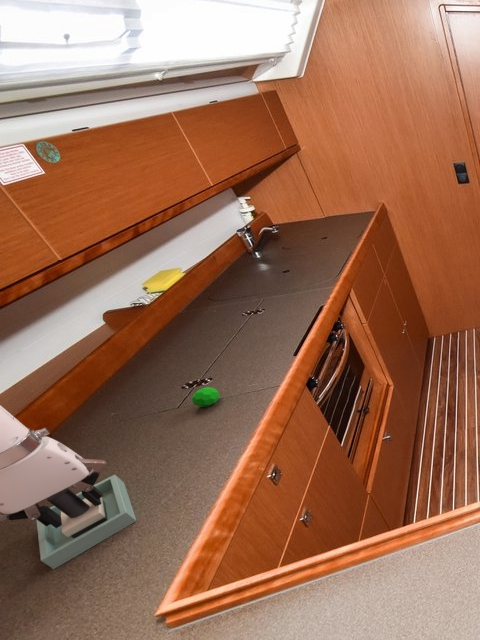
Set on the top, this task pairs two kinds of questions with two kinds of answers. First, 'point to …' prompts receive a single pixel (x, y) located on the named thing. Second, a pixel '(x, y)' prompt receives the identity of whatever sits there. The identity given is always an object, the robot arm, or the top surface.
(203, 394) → the polyhedron
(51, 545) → the tray
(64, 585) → the top surface
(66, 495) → the brush
